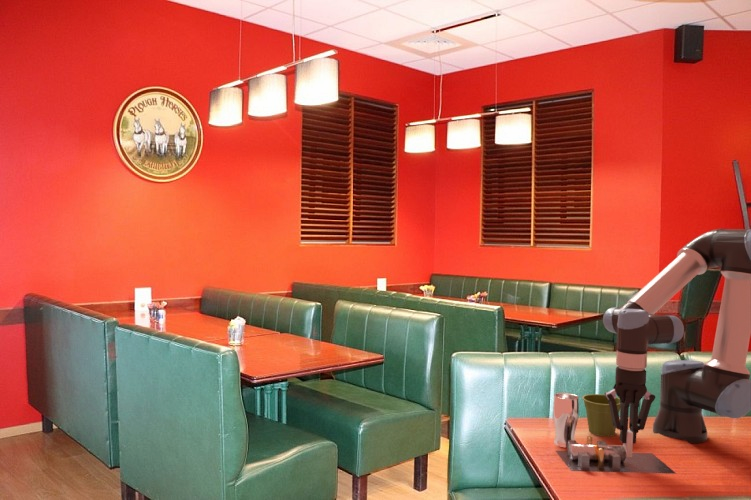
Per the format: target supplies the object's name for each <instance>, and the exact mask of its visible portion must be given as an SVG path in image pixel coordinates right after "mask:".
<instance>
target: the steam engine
mask: <svg viewBox="0 0 751 500" xmlns="http://www.w3.org/2000/svg"><path fill="white" fill-rule="evenodd" d="M570 444H579V443H578V441H576V440H568V448H567V450H555V453H557V455H558V456H559V458H560V459H561V460H562V461H563V463H564V464H565V465H566V466H567V467H568V469H569V470H570V471H571V472H592V473H593V472H596V473H597V472H600V473H603V472H604V473H633V474H634V473H635V474H637V473H638V474H642V473H643V474H672V475H675V474H676V475H677V473H676V472H675V471H674V470H673V469H672V468H670V466H669V465H667V464H666V463H664V461H662V460H661V459H659V458H658V456H656V455H655V454H654V453H652V452H651V453H650V452H632V457H626V459H625V461H621V457H620V456H619V455H618V454H617V453H609V460H608V461H604V449H603V448H599V451H598V460H590V456H589V455H588V454H587V453H586V452H578V460H571V459H570V456H569V445H570ZM586 444H590V445H592V444H593V436H589V435H588V436H586ZM596 445H609V444H608V443H607V442H606V441H604V440H597V441H596Z"/></svg>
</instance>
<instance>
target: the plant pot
mask: <svg viewBox="0 0 751 500" xmlns="http://www.w3.org/2000/svg"><path fill="white" fill-rule="evenodd" d="M581 399H582V400H583V402H584V407H585V412H586V418H587V420H586V421H587V425H588V432H589V433H590V434H593V435H595V436H600V437H612V436H615V434H616V429H617V428H616V427H614V426H613V422H612V417H611V412H610V407H609V402H608V399H607V398H606V396H605V394H594V393H593V394H591V393H590V394H585V395H583V396H581ZM615 401H616V404H617V409H618V414H619V415H620V407H621V404H620V399H619V397H618V396H616V399H615Z"/></svg>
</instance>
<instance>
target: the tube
mask: <svg viewBox="0 0 751 500" xmlns="http://www.w3.org/2000/svg"><path fill="white" fill-rule="evenodd" d="M599 448H603V449H604V461H608V460H609V453H617V454H618V455H619V456H620V457H621V461H625V459H626V451H625V448H624V446H623V444H622V445H621V444H617V445H616V444H608V445H597V444H593V443H592V445H590V444H587V443H586V444H584V443H578V444H570V445H569V456H570V459H571V460H578V452H586V453H587V454H588V455H589V456H590V460H598V451H599Z"/></svg>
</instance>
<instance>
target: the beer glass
mask: <svg viewBox="0 0 751 500" xmlns="http://www.w3.org/2000/svg"><path fill="white" fill-rule="evenodd" d="M553 399H554V400H553V410H552V412H553V413H552V414H553V422H554V431H555V434H554V435H555V437H554V441H553V444H554V445H555V446H557V447H561V448H565V449H568V440H575V437H576V436H575V435H576V428H577V425H578V422H579V420H578V419H579V411H580V410H579V408H580V405H579V404H580V403H579V402H580V401H579V396H578V395H576V394H573V393H569V392H568V393H567V392H557V393H555V394H554V398H553ZM575 441H576V440H575Z"/></svg>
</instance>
